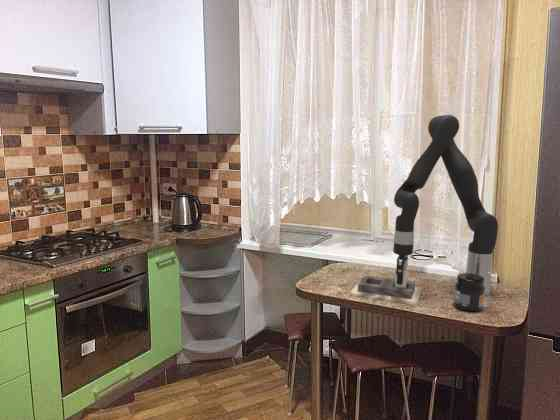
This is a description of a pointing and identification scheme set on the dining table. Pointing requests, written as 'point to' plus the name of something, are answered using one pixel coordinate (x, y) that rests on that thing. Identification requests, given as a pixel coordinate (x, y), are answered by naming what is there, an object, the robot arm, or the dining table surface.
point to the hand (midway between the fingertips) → (401, 280)
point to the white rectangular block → (403, 280)
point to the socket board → (387, 298)
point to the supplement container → (469, 292)
